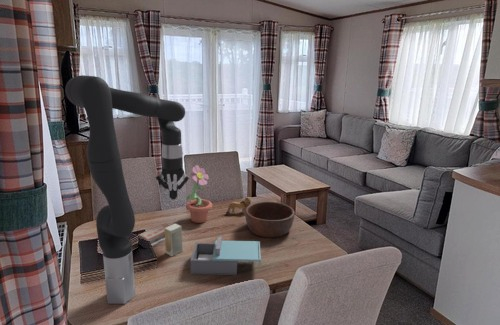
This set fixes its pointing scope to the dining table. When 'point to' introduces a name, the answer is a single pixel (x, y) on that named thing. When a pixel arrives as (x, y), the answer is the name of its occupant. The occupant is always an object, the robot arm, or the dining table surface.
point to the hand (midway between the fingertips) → (173, 198)
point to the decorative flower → (198, 205)
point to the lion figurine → (239, 205)
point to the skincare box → (173, 239)
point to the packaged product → (154, 234)
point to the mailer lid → (236, 251)
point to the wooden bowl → (269, 218)
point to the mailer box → (210, 261)
